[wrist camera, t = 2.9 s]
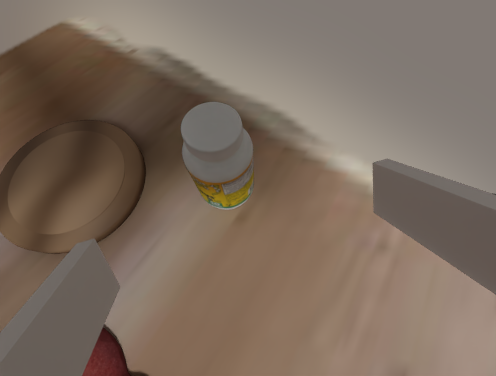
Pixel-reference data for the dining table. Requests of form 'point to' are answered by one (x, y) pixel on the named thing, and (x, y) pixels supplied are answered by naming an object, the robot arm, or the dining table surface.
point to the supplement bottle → (218, 154)
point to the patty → (106, 358)
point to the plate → (70, 186)
